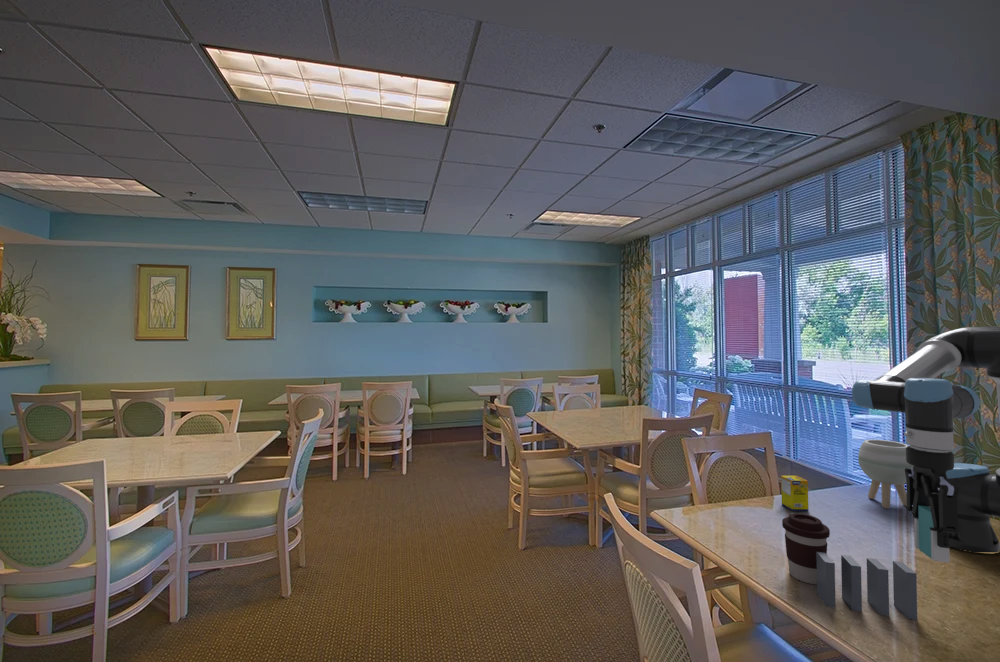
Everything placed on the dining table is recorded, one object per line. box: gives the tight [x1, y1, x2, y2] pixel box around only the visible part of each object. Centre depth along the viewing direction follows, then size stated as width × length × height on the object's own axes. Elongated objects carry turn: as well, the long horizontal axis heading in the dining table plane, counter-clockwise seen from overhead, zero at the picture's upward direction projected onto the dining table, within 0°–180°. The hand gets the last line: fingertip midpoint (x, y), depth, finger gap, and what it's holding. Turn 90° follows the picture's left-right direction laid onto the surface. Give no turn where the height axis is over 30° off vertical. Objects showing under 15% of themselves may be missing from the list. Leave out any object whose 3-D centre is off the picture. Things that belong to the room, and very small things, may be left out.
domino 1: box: [816, 552, 837, 609], centre depth 100 cm, size 2×5×10 cm, turn 163°
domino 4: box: [892, 560, 918, 621], centre depth 96 cm, size 2×5×10 cm, turn 163°
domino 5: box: [918, 505, 934, 559], centre depth 94 cm, size 2×5×10 cm, turn 163°
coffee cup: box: [781, 512, 831, 585], centre depth 110 cm, size 10×10×15 cm
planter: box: [857, 439, 914, 510], centre depth 158 cm, size 16×16×22 cm
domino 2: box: [840, 554, 863, 612], centre depth 99 cm, size 2×5×10 cm, turn 163°
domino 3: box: [866, 557, 890, 616], centre depth 97 cm, size 2×5×10 cm, turn 163°
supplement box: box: [780, 475, 809, 512], centre depth 155 cm, size 6×6×11 cm
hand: (931, 554), depth 94 cm, fingers closed on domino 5, 5 cm apart
